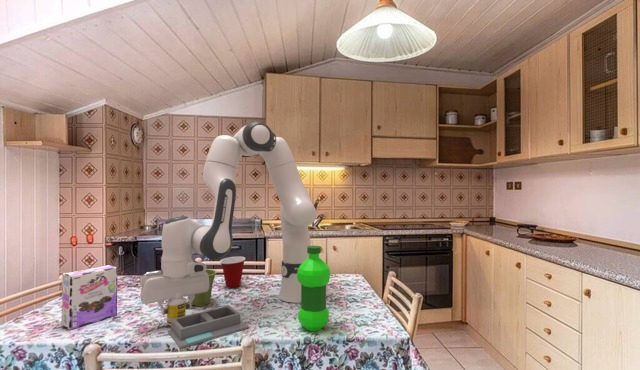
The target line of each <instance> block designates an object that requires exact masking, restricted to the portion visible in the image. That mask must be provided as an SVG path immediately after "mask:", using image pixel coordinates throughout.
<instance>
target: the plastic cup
mask: <svg viewBox="0 0 640 370" xmlns="http://www.w3.org/2000/svg"><path fill="white" fill-rule="evenodd" d="M245 260H246V257H244V256H230V257H224V258H221V259H219V263H220V264H221V267H222V272H223V278H224V281H225V286H226V288H227V289H236V288H240V286H241V283H242V277H243V270H244V264H245Z"/></svg>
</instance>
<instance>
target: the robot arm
mask: <svg viewBox="0 0 640 370" xmlns="http://www.w3.org/2000/svg"><path fill="white" fill-rule="evenodd" d="M256 155H260V157H261V158H262V159H263V161H264V162H265V165H266V169H267V171H268V174H269V178H270V180H271V184H272V186H273V189H274V191H275V193H276V195H277V197H278V199H279V202H280V203H281V205H280V208H279V212H280V213H279V214H280V216H279V217H280V227H281V236H282V259H281V260H282V261H281V269H280V270H281V283H280V287H279V288H280V290H279V293H278V297H277V298H278V299H279V300H281V301H283V302H287V303H295V304H296V303H299V304H301V284H300V282H299V281H298V278H297V271H298V269H299V267H300V265H301V264H302V263H303V262H304V261H305V260H307V259H308V258H309V253H307V247H308V246H312V242H311V237H310V236H311V235H310V231H309V226H312V224H313V223H314V222H315V220H316V218H317V209H316V208H315V206H314V204H313V202H312V200H311V198H310V195H309V193H308V190H307V189H306V187H305V185H304V184H303V181H302V178H301V176H300V172H299V170H298V167H297V164H296V161H295V158H294V155H293V153H292V151H291V148H290V146H289V144H288V143H287V141H286V139H285V138H283V137H281V136H276V134H275V133H274V132H273V130H272V129H271V127H269V125H267V124H266V123H265V122H262V121H251V122H249V123H247V124H246V125H244V126H241V128H240V129H238V131H237V132H236V133H235V134H234V135H233V136H231V135H226V134H222V135H218V136H216V137H215V138H214V139H213V141H212V143H211V146H210V148H209V150H208V153H207V156H206V159H205V161H204V167H203V171H202V175H203V176H202V180H203V183H204V184H205V186H206V187H207V188H208V189H209V190H210V191H211V192H212V193H213V196H214V207H213V214H212V219H211V220H212V221H211V224H210V225H208V224H207V225H206V224H204V223H200V222H198V221H196V220H193V219H191V218H190V216H187V215H182V216H175V217H171V218H168V219H167V220H165V222H164V223H163V227H162V233H161V249H162V256H161V266H160V267H161V269H160V270H154V271H147V272H145V273H144V274H143V275H141V277H140V279H139V285H140V287H141V289H140V297H139V300H140V301H141V302H142V303H143V304H144V305H149V304H155V303H157V305H158V306H159V309H160V311H161V315H162V316H165V315H167V314H168V312H167V311H168V308H167V306H163V305H164V304H165V301H168V300H170V299H174V298H175V294H179V293H182V297H184V298H185V297H188V296H189V297H190V298H188V300H187V301H186V310H190V309H192V305H191V303H192V302H193V300H194V298H195V294H199V293H204V292H207V291H208V290H209V276H208V273H207V272H206V269H208V267H207V264H205V263H204V262H202V261H199V260H192V256H193V255H194V254H198V255H201V256H204V257H206V258H208V259H209V260H214V261H218V260H222V259H224V258H226V256H228V254H229V253H230V251H231V249H232V247H233V243H234V242H233V240H234V239H233V238H234V237H233V227H232V226H233V220H234V212H235V204H236V198H237V188H236V187H237V186H236V176H237V172H238V168H239V162H240V160H241V158H249V157H250V158H251V157H252V156H256ZM331 295H334V290H333V289H332V288H330V287H329V286H328V283H327V284H326V298H327V297H329V296H331Z"/></svg>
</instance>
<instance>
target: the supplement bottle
mask: <svg viewBox="0 0 640 370" xmlns="http://www.w3.org/2000/svg"><path fill="white" fill-rule="evenodd" d="M186 303H187V301H186V298H185V296H184V297H182V293H179V294H175V298H174V299H170V300H167V305H166V307H167V308H168V311H167V312H168V314H166V324H167V325H168V326H169V327H171V319H175V318H179V317H183V316H187V315H186V310H187V309H186Z"/></svg>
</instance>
